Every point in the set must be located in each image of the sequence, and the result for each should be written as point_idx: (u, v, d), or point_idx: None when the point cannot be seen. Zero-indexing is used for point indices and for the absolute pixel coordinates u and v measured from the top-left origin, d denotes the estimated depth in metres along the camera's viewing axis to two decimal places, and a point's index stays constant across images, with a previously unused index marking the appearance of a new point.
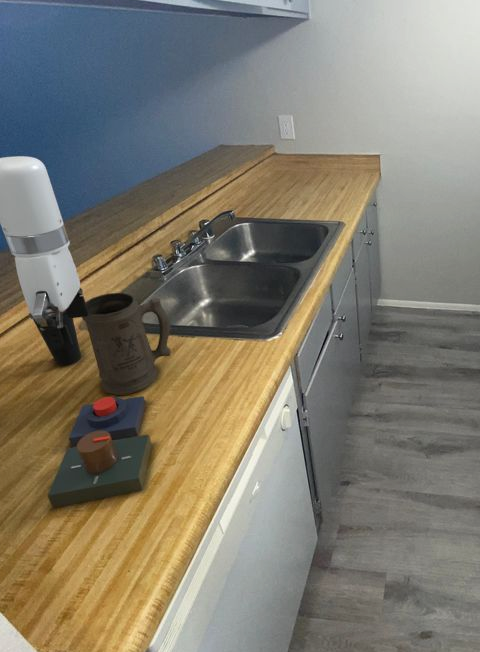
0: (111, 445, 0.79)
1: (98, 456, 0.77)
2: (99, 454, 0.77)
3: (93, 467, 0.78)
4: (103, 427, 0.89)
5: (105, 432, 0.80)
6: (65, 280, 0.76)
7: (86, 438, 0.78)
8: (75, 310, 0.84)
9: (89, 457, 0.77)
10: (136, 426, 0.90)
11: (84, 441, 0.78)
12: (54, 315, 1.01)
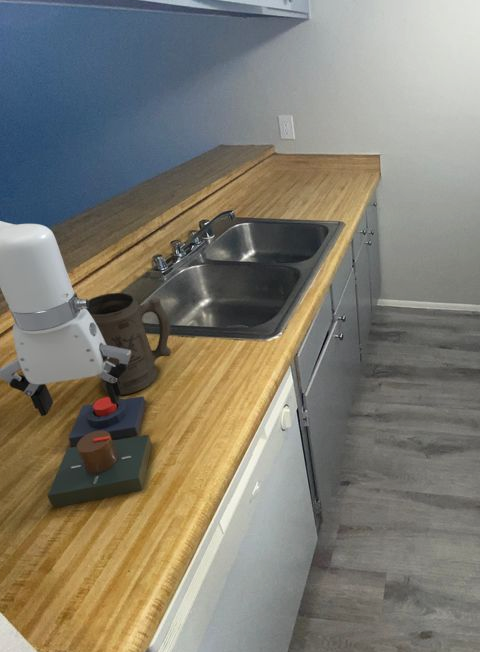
0: (111, 445, 0.79)
1: (98, 456, 0.77)
2: (99, 454, 0.77)
3: (93, 467, 0.78)
4: (103, 427, 0.89)
5: (105, 432, 0.80)
6: (42, 361, 0.67)
7: (86, 438, 0.78)
8: None
9: (89, 457, 0.77)
10: (136, 426, 0.90)
11: (84, 441, 0.78)
12: None
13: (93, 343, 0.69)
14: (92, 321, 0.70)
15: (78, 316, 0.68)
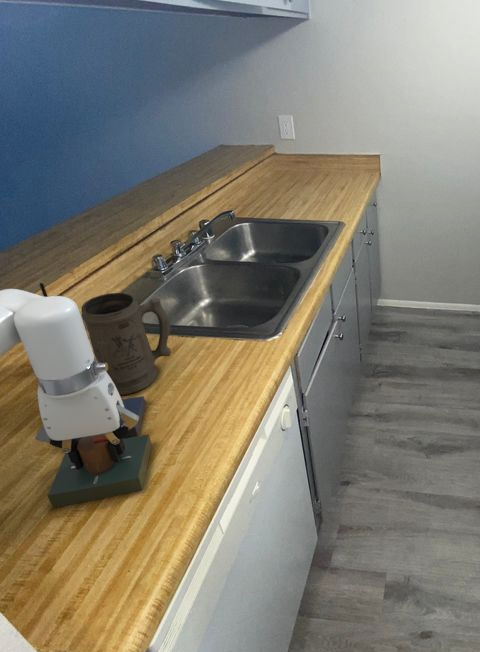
0: None
1: (98, 456, 0.77)
2: (99, 454, 0.77)
3: (93, 467, 0.78)
4: None
5: None
6: (63, 420, 0.72)
7: (86, 438, 0.78)
8: None
9: (89, 457, 0.77)
10: (136, 426, 0.90)
11: (84, 441, 0.78)
12: None
13: (111, 402, 0.74)
14: (110, 381, 0.75)
15: (98, 378, 0.73)
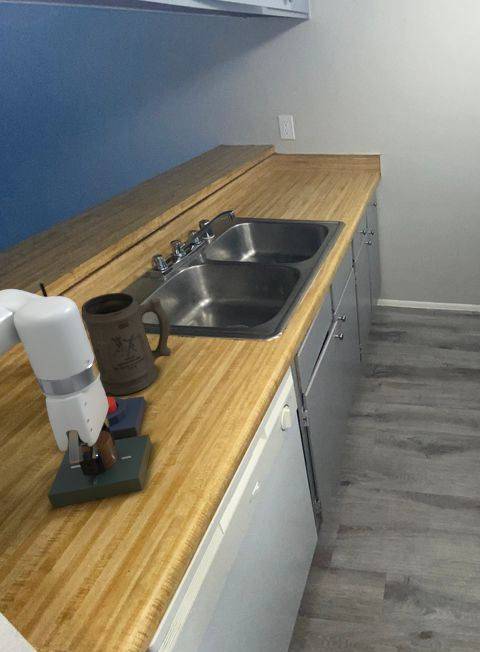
0: None
1: (112, 441, 0.80)
2: (111, 439, 0.80)
3: (114, 454, 0.80)
4: None
5: None
6: (95, 413, 0.74)
7: (85, 448, 0.77)
8: None
9: (111, 444, 0.79)
10: (136, 426, 0.90)
11: (89, 447, 0.77)
12: None
13: None
14: None
15: None
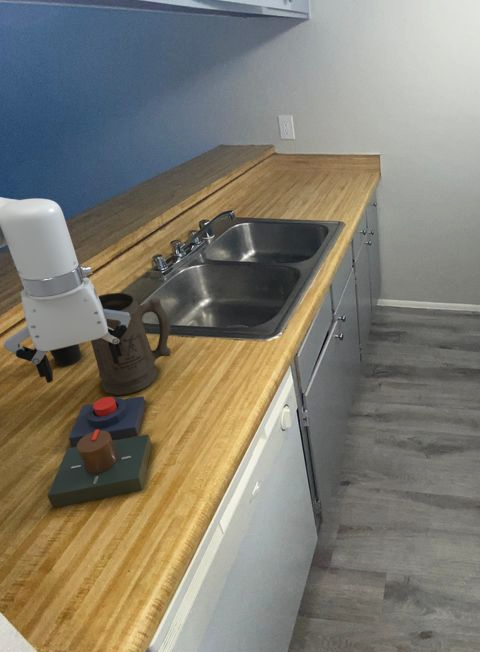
0: None
1: (112, 441, 0.80)
2: (111, 439, 0.80)
3: (114, 454, 0.80)
4: (103, 427, 0.89)
5: (85, 436, 0.79)
6: (52, 326, 0.73)
7: (85, 447, 0.77)
8: None
9: (111, 444, 0.79)
10: (136, 426, 0.90)
11: (89, 447, 0.77)
12: None
13: (99, 306, 0.77)
14: None
15: (84, 282, 0.75)
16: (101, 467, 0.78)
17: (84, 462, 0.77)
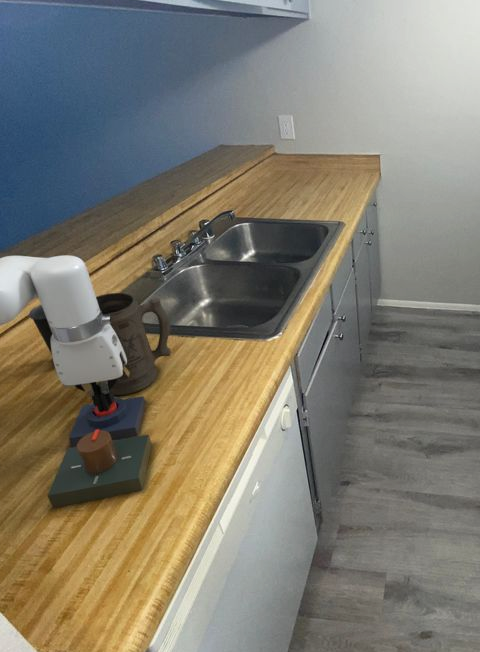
0: None
1: (112, 441, 0.80)
2: (111, 439, 0.80)
3: (114, 454, 0.80)
4: (103, 427, 0.89)
5: (85, 436, 0.79)
6: (73, 366, 0.82)
7: (85, 447, 0.77)
8: None
9: (111, 444, 0.79)
10: (136, 426, 0.90)
11: (89, 447, 0.77)
12: None
13: (115, 352, 0.84)
14: (114, 333, 0.85)
15: (103, 330, 0.83)
16: (101, 467, 0.78)
17: (84, 462, 0.77)
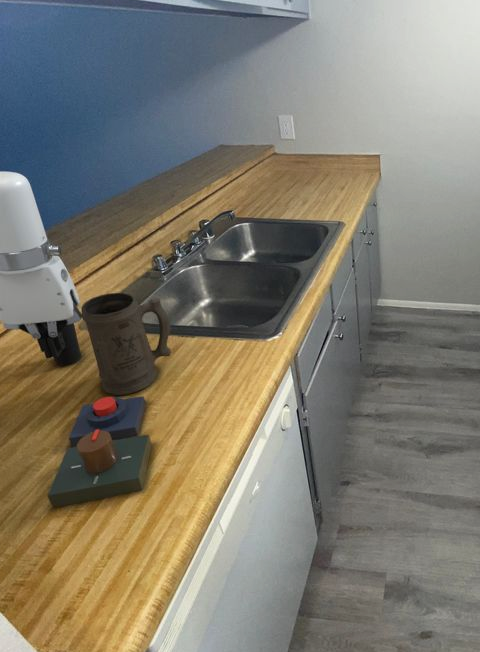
0: None
1: (112, 441, 0.80)
2: (111, 439, 0.80)
3: (114, 454, 0.80)
4: (103, 427, 0.89)
5: (85, 436, 0.79)
6: (15, 301, 0.73)
7: (85, 447, 0.77)
8: None
9: (111, 444, 0.79)
10: (136, 426, 0.90)
11: (89, 447, 0.77)
12: None
13: (64, 288, 0.75)
14: (64, 268, 0.75)
15: (50, 261, 0.73)
16: (101, 467, 0.78)
17: (84, 462, 0.77)
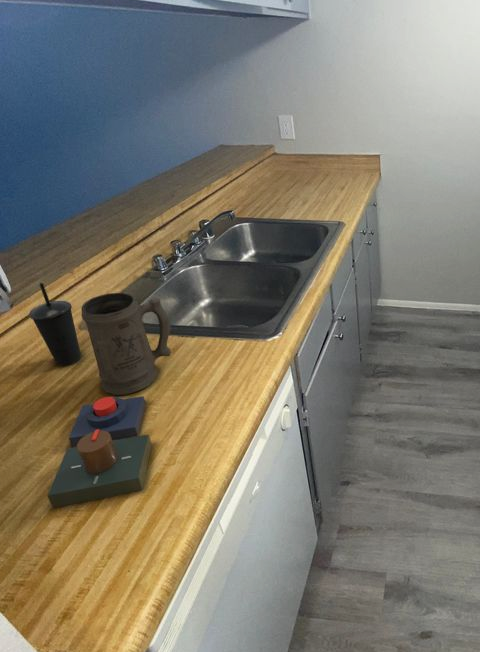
0: None
1: (112, 441, 0.80)
2: (111, 439, 0.80)
3: (114, 454, 0.80)
4: (103, 427, 0.89)
5: (85, 436, 0.79)
6: None
7: (85, 447, 0.77)
8: None
9: (111, 444, 0.79)
10: (136, 426, 0.90)
11: (89, 447, 0.77)
12: (54, 315, 1.01)
13: None
14: None
15: None
16: (101, 467, 0.78)
17: (84, 462, 0.77)
